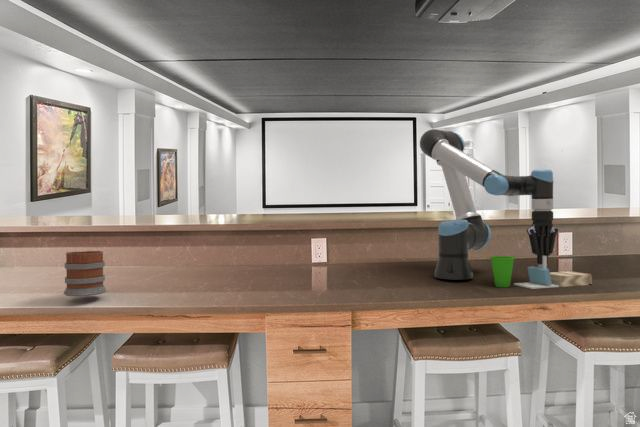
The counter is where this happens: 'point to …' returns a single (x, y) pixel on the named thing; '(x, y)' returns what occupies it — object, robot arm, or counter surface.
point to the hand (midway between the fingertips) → (542, 272)
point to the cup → (502, 270)
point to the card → (539, 276)
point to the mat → (534, 285)
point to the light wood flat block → (570, 278)
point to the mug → (84, 273)
